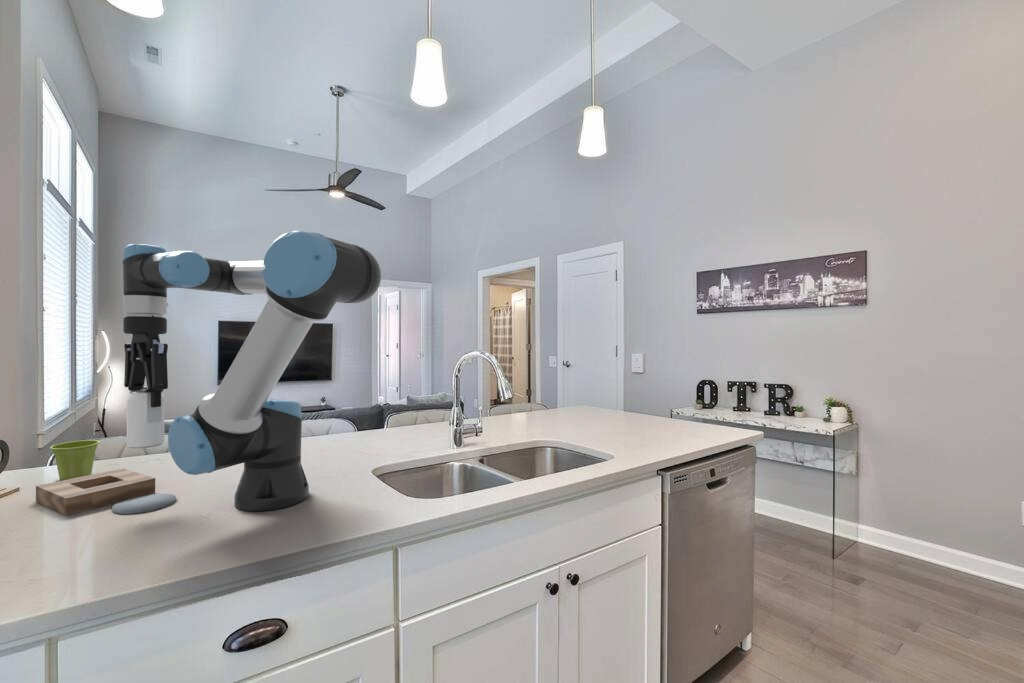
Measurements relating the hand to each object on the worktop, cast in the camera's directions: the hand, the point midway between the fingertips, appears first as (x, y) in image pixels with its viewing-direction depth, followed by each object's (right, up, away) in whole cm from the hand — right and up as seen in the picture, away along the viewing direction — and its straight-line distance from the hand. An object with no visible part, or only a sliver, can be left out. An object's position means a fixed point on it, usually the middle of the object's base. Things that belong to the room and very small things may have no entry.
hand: (145, 420), depth 101 cm
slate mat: (0, -19, 0) cm, 19 cm away
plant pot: (-34, -18, +20) cm, 43 cm away
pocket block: (-15, -18, +5) cm, 24 cm away
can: (0, -6, 0) cm, 6 cm away
